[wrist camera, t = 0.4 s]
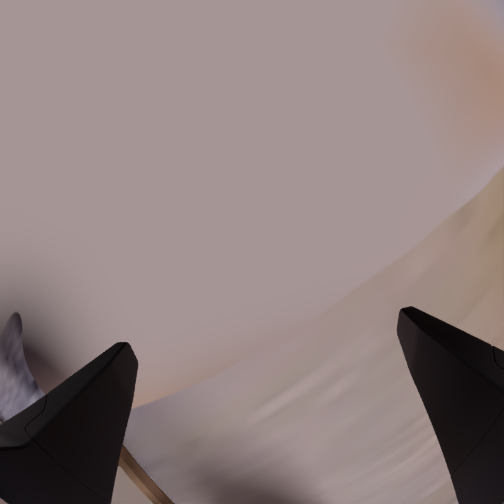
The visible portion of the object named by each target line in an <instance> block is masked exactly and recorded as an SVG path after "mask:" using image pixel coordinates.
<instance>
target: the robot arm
mask: <svg viewBox="0 0 504 504" xmlns="http://www.w3.org/2000/svg"><path fill="white" fill-rule="evenodd" d="M397 335H398V338H399V341H400V344H401V347H402V350H403V353H404V356H405V359H406V362H407V365H408V368H409V371H410V373H411V376H412V378H413V380H414V383H415V385H416V387H417V389H418V392H419V394H420V396H421V399H422V401H423V403H424V406H425V408H426V411H427V413H428V416H429V418H430V421H431V423H432V426H433V428H434V431H435V433H436V436H437V439H438V441H439V444H440V447H441V450H442V452H443V455H444V458H445V461H446V464H447V467H448V470H449V473H450V475H451V479H452V483H453V486H454V489H455V492H456V496H457V499H458V503H459V504H504V351H503V350H501V349H499V348H497V347H495V346H491V344H489V343H487V342H485V341H483V340H481V339H479V338H477V337H475V336H472V335H470V334H468V333H466V332H464V331H462V330H460V329H458V328H456V327H454V326H452V325H450V324H448V323H446V322H444V321H442V320H440V319H438V318H436V317H434V316H431V315H429V314H427V313H425V312H423V311H421V310H419V309H417V308H415V307H412V306H409V307H405V308H402V309H400V311H399V317H398V324H397ZM137 370H138V360H137V358H136V356H135V354H134V352H133V350H132V348H131V346H130V344H129V343H127V342H118V343H116V344H114V345H113V346H112V347H110V348H109V349H108V350H106V351H105V352H103V353H102V354H101V355H99V356H98V357H97V358H95V359H94V360H92V361H91V362H90V363H88V364H87V365H85V366H84V367H83V368H82V369H80V370H79V371H77V372H76V373H75V374H73V375H72V376H70V377H69V378H68V379H66V380H65V381H64V382H62V383H61V384H60V385H58V386H57V387H56V388H54V389H53V390H51V391H50V392H49V393H48V394H46V395H45V396H43V397H42V398H41V399H39V400H38V401H36V402H35V403H33V404H32V405H31V406H29V407H28V408H26V409H25V410H23V411H21V412H20V413H18V414H17V415H15V416H13V417H12V418H10V419H9V420H7V421H5V422H4V423H2V424H1V425H0V504H111V501H112V495H113V490H114V484H115V479H116V474H117V468H118V464H119V459H120V454H121V449H122V445H123V440H124V436H125V432H126V427H127V423H128V419H129V415H130V411H131V407H132V402H133V397H134V390H135V383H136V377H137Z"/></svg>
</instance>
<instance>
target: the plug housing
mask: <svg viewBox="0 0 504 504" xmlns="http://www.w3.org/2000/svg"><path fill="white" fill-rule="evenodd" d="M111 504H153V503H152V502H151V501H150V499H149V498H148V497H147V496H146V495H145V494H144V493H143V492H142V491H141V490H140V489H139V488H138V487H137V485H136V484H135V483H134V482H133V481H132V480H131V479H130V477H129V476H128V475H127V474H126V473H125V472H124V470H123V469H122V468H121V467H120V466H118V468H117V474H116V479H115V484H114V490H113V495H112V501H111Z"/></svg>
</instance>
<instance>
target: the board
mask: <svg viewBox="0 0 504 504" xmlns="http://www.w3.org/2000/svg"><path fill="white" fill-rule="evenodd" d="M118 466H120V467H121V468H122V469H123V470H124V472H125V473H126V474H127V475H128V476H129V477H130V479H131V480H132V481H133V482H134V483H135V484H136V485H137V487H138V488H139V489H140V490H141V491H142V492H143V493H144V494H145V495H146V496H147V497H148V498H149V499H150V501H151V502H152V503H153V504H174V503H173V502H172V501H171V500H170V499H169V498H168V497H167V496H166V495H165V494H164V493H163V492H162V491H161V490H160V489H159V487H158V486H157V485H156V484H155V483H154V482H153V481H152V480H151V479H150V477H149V476H148V475H147V474H146V473H145V472H144V471H143V469H142V468H141V467H140V466H139V465H138V463H137V462H136V461H135V460H134V458H133V457H132V456H131V455H130V453H129V452H128V451H127V450H126V448H125V447H124V446H123V445H122V449H121V454H120V459H119V464H118Z"/></svg>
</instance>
